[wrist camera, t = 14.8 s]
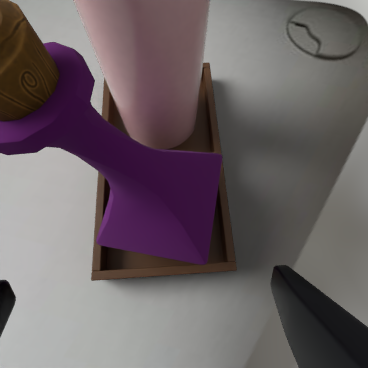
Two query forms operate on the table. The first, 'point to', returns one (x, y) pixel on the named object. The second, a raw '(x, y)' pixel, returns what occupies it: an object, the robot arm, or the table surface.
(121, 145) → the perfume bottle
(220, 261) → the tray
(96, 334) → the table surface
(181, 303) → the table surface
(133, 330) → the table surface
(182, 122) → the pink cylinder
